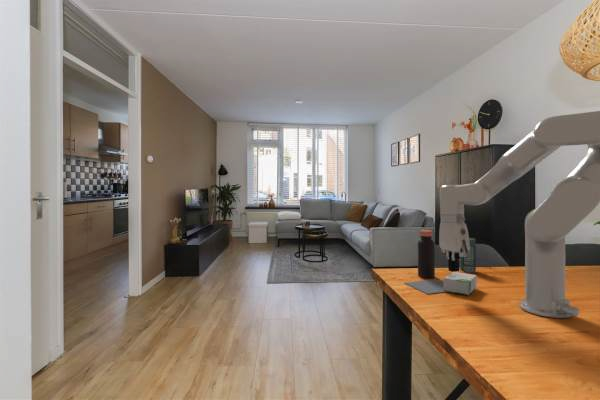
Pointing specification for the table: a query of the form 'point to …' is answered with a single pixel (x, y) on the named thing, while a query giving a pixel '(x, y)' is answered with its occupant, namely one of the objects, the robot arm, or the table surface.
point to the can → (469, 258)
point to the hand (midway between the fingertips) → (453, 270)
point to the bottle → (426, 255)
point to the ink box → (460, 283)
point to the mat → (428, 286)
